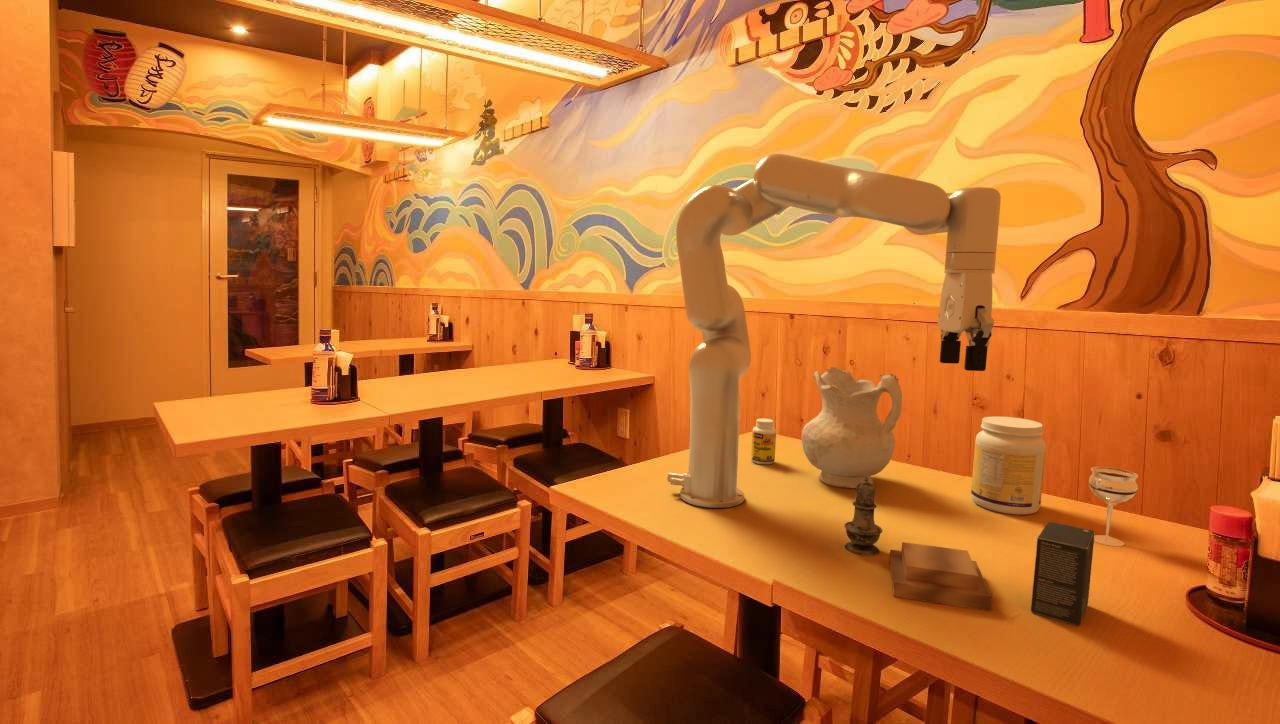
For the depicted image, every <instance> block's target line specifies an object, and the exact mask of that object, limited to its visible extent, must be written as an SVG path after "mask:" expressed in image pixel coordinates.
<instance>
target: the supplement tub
mask: <svg viewBox="0 0 1280 724" xmlns="http://www.w3.org/2000/svg"><path fill="white" fill-rule="evenodd" d="M1043 426H1044V425H1043V424H1042V423H1041V422H1038V421H1035V420H1032V419H1027V418H1020V417H1013V416H1012V417H1011V416H985V417H983V418H982V419H981V424H980V428H981V429H982V430H981V431H980V432H978V433H977V434H976V436H975V442H974V453H973V454H974V455H973V464H972V467H973V468H972V477H971V478H972V479H971V490H970V497H971V499H972V501H973V502H974V503H975V504H976V505H977V506H980V507H981V508H984V509H986V510H989V511H992V512H996V513H1002V514H1008V515H1015V516H1016V515H1020V516H1021V515H1022V516H1023V515H1024V516H1025V515H1031V514H1035V513H1036V512H1037V511H1039V509H1040V507H1041V504H1042V493H1043V485H1044V484H1043V483H1044V473H1045V463H1046V453H1047V444H1046V441H1045V440H1044V439H1043V438H1042V437H1041V436H1042V435H1043V434H1044V431H1043Z"/></svg>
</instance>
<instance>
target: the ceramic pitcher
mask: <svg viewBox="0 0 1280 724" xmlns="http://www.w3.org/2000/svg"><path fill="white" fill-rule="evenodd" d="M879 376H880V381H879V382H878V384H877V386H876V385H875V383H874V382H873V381H872V380H870V379H866V380H865V379H862V378H861V379H860V378H859V379H855V377H854V376H853V375H852V373H851V372H850V370H848V371H846V370H844V369H841V368H840V367H835V366H832V367H830V369H829V368H828V369H826V371H825V372H824V373H822V375H821V373H820V372H819V371H817V370H816V371H814V374H813V379H814V380H815V381H816V385H817V388H818V389H819V392H820V395H821V400H822V402H821V403H822V408H821V411H820V412H819V413H818V415H817V416H815V417H814V418H813V419H811V420H809V422H807V423H806V424H805V425H804V427H803V428H802V431H801V446H802V450H803V452H804V454H805V457H806V459H807V461H808V462H809V463H810V464H811V466H813V467H814V468H816V469H817V470H820V473H819V475H818V476H817V477H818V480H820V482H821V483H823V484H826V485H827V486H829V487H838V488H848V489H856V487H857V485H858V484H859V483H861V482H864V481H865V480H864V479H865V478H866V477H867V478H868V479H869V480H868V482H869V483H871V484H872V485H874V486H875V483H874V481H873V480H872V477H871V476H875V475H877V474H879V473H881V472H882V471H883V470H884V469H885V468H886V467H887V466H888V464H889V463H890V461H891V459H892V457H893V454H894V451H895V446H896V439H895V434H894V432H893V431H892V430H894V428H896V424H897V422H898V421H899V419H900V417H901V414H902V413H901V412H902V406H903V392H902V388H901V385H900V382H899V378H897V375H896V374H893V373H892V374H889V373H886V374H885V373H884V374H880V375H879ZM883 393H888V394H889V395H890V398H891V409H890V411H889V412H888V415H887V416H886V418H885V420H884V422H882V421H881V420H880V418H879V416H878V414H877V412H878V411H877V409H878V403H879V401H880V398H881V397H882V394H883Z"/></svg>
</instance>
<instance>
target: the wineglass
mask: <svg viewBox="0 0 1280 724" xmlns="http://www.w3.org/2000/svg"><path fill="white" fill-rule="evenodd" d="M1090 471H1091V473H1092V474H1091V475H1090V476H1089V479H1088V486H1089V488H1090V490H1091V492H1092V493H1094V495H1095V496H1096V497H1097V498H1099V499H1100V500H1102V501H1104V503H1105V504H1106V505H1107V507H1106V508H1107V509H1106V527H1105V535H1104V534H1094V542H1095V543H1098V544H1100V545H1106V546H1111V547H1123V546H1124V545H1125V542H1123V541H1122V540H1120V539H1119V538H1115V537H1112V536H1111V535H1109V534H1110V529H1111V522H1112V515H1113V510H1114V506H1116V505H1118V504H1121V503H1125V502H1127V501H1129V500H1130V499H1133V497H1135V495H1137V493H1138V489H1139V488H1138V487H1139V485H1138V484H1137V482H1136V481H1137V479H1138V478H1139V475H1138V474H1137V473H1136V472H1133V471H1129V470H1127V469H1120V468H1114V467H1108V466H1093V467H1090Z"/></svg>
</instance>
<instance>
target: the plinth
mask: <svg viewBox="0 0 1280 724" xmlns="http://www.w3.org/2000/svg"><path fill="white" fill-rule="evenodd" d="M888 562H889V570H890V578H891V579H890V580H891V586H892V593H893V597H896V598H903V599H907V600H908V599H909V600H914V601H915V600H916V601H923V602H928V603H936V604H942V605H946V606H947V605H949V606H955V607H961V608H968V609H975V610H980V611H987V612H991V609H992V597H993V596H992V594H991V592H990V590H989V587H988V584H987V583H986V581H985V579H984V576H983V574H982V572H981V570H980V567H979V564H978V562H977V561H975V560H972V558H971V555H970V553H969V550H966V549H959V548H957V549H956V548H950V547H943V546H936V545H935V546H934V545H927V544H921V543H920V544H919V543H913V542H912V543H911V542H903V541H902V543H901V550H896V549H890V550H889V560H888Z"/></svg>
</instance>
